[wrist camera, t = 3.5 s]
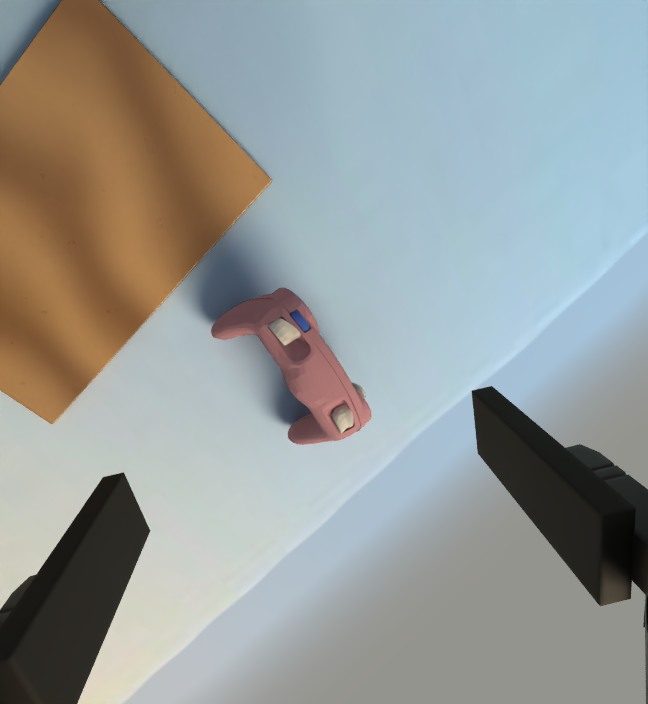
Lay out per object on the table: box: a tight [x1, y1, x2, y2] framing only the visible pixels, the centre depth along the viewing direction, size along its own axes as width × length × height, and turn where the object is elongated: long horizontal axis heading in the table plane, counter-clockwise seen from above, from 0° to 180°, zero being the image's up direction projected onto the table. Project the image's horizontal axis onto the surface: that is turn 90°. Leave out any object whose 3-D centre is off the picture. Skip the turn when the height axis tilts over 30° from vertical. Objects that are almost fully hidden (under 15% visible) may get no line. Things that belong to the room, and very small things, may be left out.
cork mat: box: [0, 0, 272, 424], centre depth 22 cm, size 20×12×1 cm, turn 135°
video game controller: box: [211, 288, 372, 445], centre depth 24 cm, size 10×5×7 cm, turn 31°
